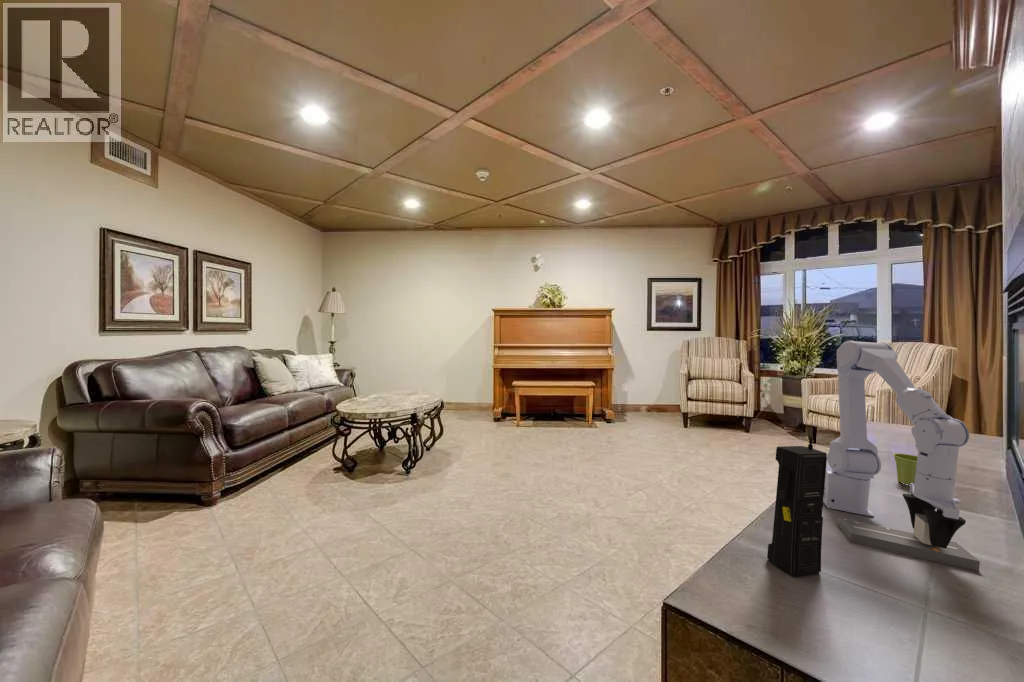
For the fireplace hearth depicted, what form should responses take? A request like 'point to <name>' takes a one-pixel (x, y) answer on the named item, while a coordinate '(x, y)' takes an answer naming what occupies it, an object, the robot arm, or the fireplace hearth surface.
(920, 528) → the fader
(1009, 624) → the fireplace hearth surface
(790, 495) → the portable radio
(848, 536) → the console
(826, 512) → the fireplace hearth surface
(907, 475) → the plant pot
